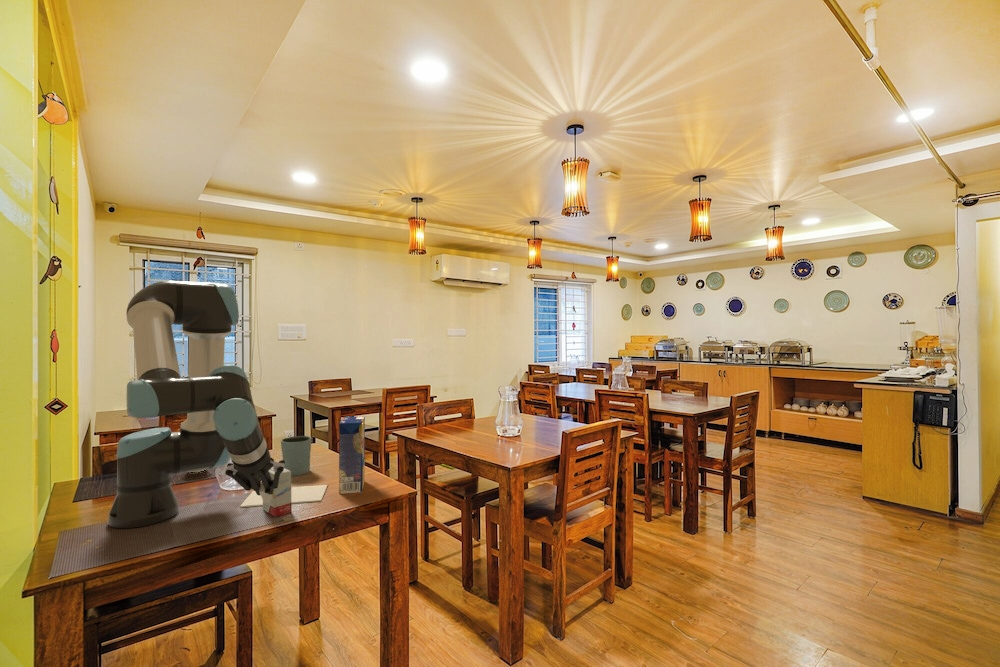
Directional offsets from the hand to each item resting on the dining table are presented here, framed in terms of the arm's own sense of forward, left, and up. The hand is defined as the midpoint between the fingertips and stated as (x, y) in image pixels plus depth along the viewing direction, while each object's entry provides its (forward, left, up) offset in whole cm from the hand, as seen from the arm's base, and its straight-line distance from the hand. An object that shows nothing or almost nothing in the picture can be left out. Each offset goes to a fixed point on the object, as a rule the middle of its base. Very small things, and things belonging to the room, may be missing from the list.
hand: (268, 498), depth 122 cm
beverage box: (+19, +26, -7) cm, 33 cm away
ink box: (0, +10, -7) cm, 12 cm away
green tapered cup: (-2, +47, -7) cm, 47 cm away
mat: (0, +22, -7) cm, 23 cm away
